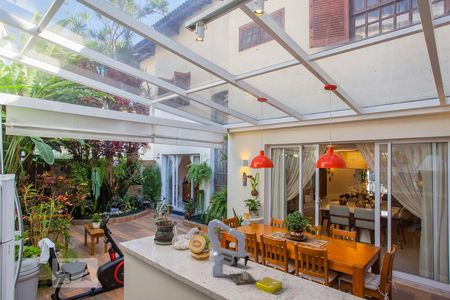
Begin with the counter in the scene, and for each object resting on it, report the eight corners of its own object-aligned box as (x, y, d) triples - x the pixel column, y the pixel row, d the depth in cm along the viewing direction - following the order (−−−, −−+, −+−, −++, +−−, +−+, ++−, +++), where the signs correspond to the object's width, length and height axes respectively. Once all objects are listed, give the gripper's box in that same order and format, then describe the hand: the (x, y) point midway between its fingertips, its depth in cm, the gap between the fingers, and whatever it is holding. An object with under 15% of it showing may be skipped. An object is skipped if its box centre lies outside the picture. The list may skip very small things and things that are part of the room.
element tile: (265, 282, 208) (265, 275, 209) (283, 287, 199) (283, 281, 199) (255, 288, 197) (255, 281, 197) (273, 295, 187) (273, 287, 188)
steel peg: (242, 282, 205) (242, 273, 206) (241, 280, 209) (241, 271, 210) (247, 282, 206) (247, 273, 207) (245, 280, 210) (246, 271, 211)
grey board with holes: (236, 284, 201) (236, 282, 202) (229, 276, 218) (229, 273, 218) (256, 282, 206) (256, 280, 206) (248, 274, 222) (248, 272, 222)
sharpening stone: (215, 261, 252) (215, 249, 253) (220, 259, 258) (221, 247, 258) (235, 268, 235) (235, 255, 236) (241, 265, 241) (241, 253, 242)
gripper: (234, 250, 210) (233, 268, 209) (251, 249, 214) (251, 267, 213) (231, 248, 217) (231, 265, 216) (248, 247, 220) (248, 264, 220)
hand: (240, 266), depth 215 cm, fingers open, 7 cm apart
